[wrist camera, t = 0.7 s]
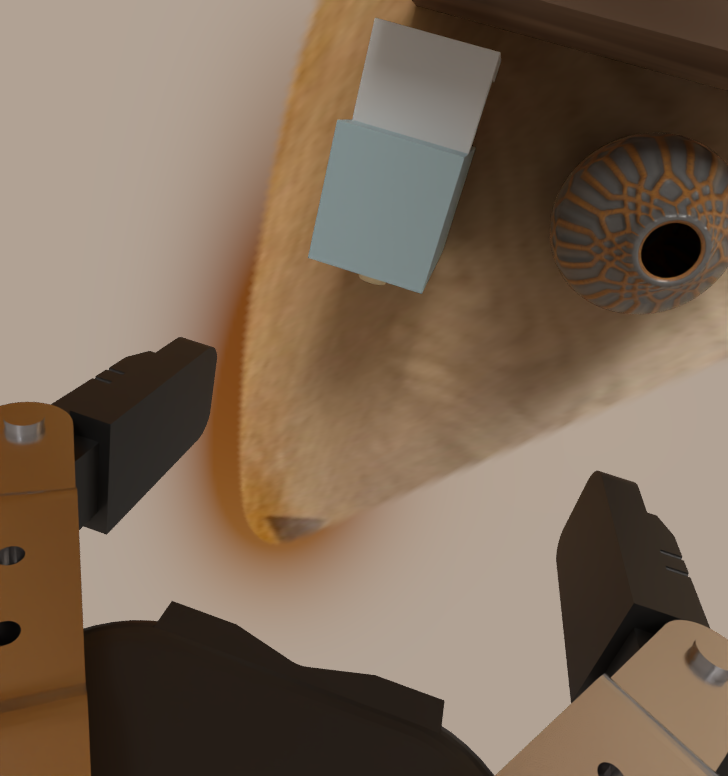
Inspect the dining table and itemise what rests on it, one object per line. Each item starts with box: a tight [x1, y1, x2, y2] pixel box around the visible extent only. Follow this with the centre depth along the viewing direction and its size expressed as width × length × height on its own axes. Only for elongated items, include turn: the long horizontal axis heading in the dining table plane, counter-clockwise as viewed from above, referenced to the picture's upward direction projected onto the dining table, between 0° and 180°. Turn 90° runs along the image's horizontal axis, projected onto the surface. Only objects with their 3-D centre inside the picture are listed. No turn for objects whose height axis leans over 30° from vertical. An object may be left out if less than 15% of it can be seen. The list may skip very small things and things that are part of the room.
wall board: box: [412, 0, 728, 91], centre depth 20 cm, size 2×17×8 cm, turn 74°
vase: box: [550, 133, 728, 314], centre depth 23 cm, size 7×7×9 cm
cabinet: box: [308, 18, 501, 294], centre depth 24 cm, size 9×5×8 cm, turn 164°
